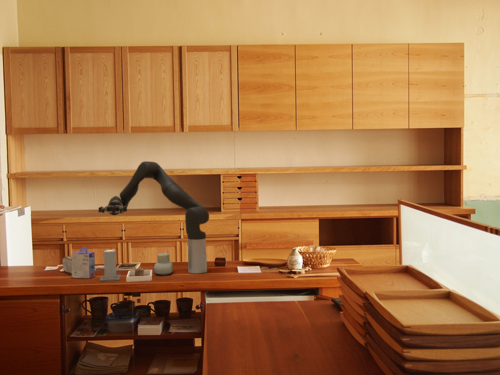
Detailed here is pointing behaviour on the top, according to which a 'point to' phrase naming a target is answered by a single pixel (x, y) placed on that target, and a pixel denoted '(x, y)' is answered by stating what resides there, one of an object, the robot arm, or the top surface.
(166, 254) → the air freshener
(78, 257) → the ink cartridge box
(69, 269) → the tin
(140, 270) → the walnut block
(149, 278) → the bin rim
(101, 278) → the pad
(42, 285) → the top surface
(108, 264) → the label box
